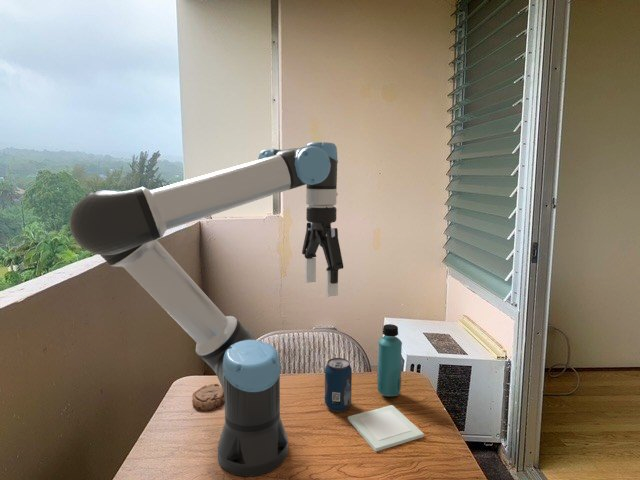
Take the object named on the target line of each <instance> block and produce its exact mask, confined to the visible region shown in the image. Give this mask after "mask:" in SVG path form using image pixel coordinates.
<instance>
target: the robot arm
mask: <svg viewBox="0 0 640 480" xmlns="http://www.w3.org/2000/svg"><path fill="white" fill-rule="evenodd" d="M338 163H339V161H338V149H337V145H336V144H335V143H333V142H324V141H323V142H320V141H319V142H318V141H317V142H308V143H307V144H306V146H303V147H297V148H287V149H275V148H272V149H262V150H261V151H260V152H259V154H258V159H256V160H253V161H250V162H246V163H242V164H240V165H239V164H238V165H235V166H232V167H229V168H225V169H221V170H217V171H215V172H211V173H208V174H204V175H200V176H197V177H194V178H191V179H190V178H189V179H186V180H183V181H180V182H176V183H172V184H170V185H165V186H163V187H158V188H155V189H149V188H147V187H144V186H141V187H136V188H134V189H129V190H124V191H121V190H118V189H115V188H114V189H113V188H100V189H96V190H93V191H92V192H90V193H88V194H86V195H85V196H84V197H83V198H81V199H80V200H79V201H78V202H77V203H76V204H75V206H74V208H73V209H72V210H71V214H70V218H69V229H70V233H71V235H72V238H73V239H74V241H75V242H76V243H77V244H78V245H79V247H81V248H82V249H84V250H86V251H87V252H90V253H92V254H95V255H98V256H99V255H100V256H101V257H102V259H104V261H105V262H107V264H109V266H111V267H114V268H116V267H119V268H123V269H124V270H125V271H126V272H127V273H128V274H129V275H130V276H131V277H132V278H133V279H134V280H135V281H136V282H137V283H138V284H139V286H141V288H142V289H144V290H145V291H146V292H147V294H149V296H151V297H152V298H153V300H155V302H156V303H157V304H158V305H159V306H160V307H161V309H163V310H164V311H165V312H166V313H167V314H168V315H169V316H170V317H171V318H172V319H173V320H174V321H175V322H176V323H177V324H178V325H179V326H180V327H181V328H182V330H183V331H185V333H186V334H187V335H189V337H191V339H193V341H194V342H195V343H196V345H195V353H196V354H197V355H198V356H199V357H200V358H201V360H203V361H204V362H205V363H206V364H207V365H208V367H210V368H211V369H212V370H213V371H214V373H215V374H216V377H217V378H218V381H219V383H220V386H221V387H222V388H223V391H224V401H223V403H224V424H223V428H222V431H221V434H220V436H219V439H218V444H217V461H218V463H219V464H220V465H219V466H220V467H221V468H222V469H224V471H226V472H228V473H229V474H233V475H234V476H238V477H257V476H262V475H265V474H267V473H271V472H272V471H274V470H276V469H277V468H279V467H280V466H281V465H283V463H284V462H285V460H286V459H287V457H288V454H289V438H288V435H287V432H286V430H285V426H284V424H283V420H282V419H281V411H280V410H281V396H280V395H281V386H280V385H281V384H280V383H281V362H280V356H279V353H278V351H277V349H276V347H274V346H273V345H271V344H270V343H268V342H264V341H262V340H259V339H258V340H257V339H255V337H254V336H253V335H254V334H252V333H251V332H250V331H249V330H248V329H247V328H245V327H244V326H243V325H242V324H241V323H240V321H239V319H237V318H236V317H235V316H233V315H225V314H224V313H223V312H222V311H221V310H220V308H218V306H217V305H216V304H215V303H214V302H213V301H212V300H211V299H210V297H209V296H207V295H208V294H207V295H206V293H205V292H204V291H203V290H202V289H201V287H200V286H199V285H198V284H197V283H196V282H195V281H194V280H193V279H192V277H191V276H189V274H188V273H187V272H186V271H185V270H184V269H183V268H182V267H181V265H180V264H179V263H178V262H177V261H176V260H175V259H174V257H173V256H172V255H171V254H170V253H169V252H168V251H167V250H166V249H165V248H164V246H163V245H162V243H160V241H158V240H159V239H161V238H163V236H164V235H165V233H166V232H167V231H168V230H171V229H173V228H174V229H175V228H177V227H180V226H182V225H186V224H190V223H193V222H195V221H199V220H201V219H203V218H207V217H210V216H214V215H216V214H219V213H221V212H224V211H228V210H231V209H235V208H237V207H240V206H243V205H246V204H249V203H252V202H253V203H254V202H255V201H258V200H261V199H265V198H267V197H271V196H274V195H277V194H280V193H282V192H285V191H289V190H293V189H297V188H299V187H302V186H306V191H305V192H306V194H305V195H306V196H305V198H306V200H305V201H306V202H305V203H306V205H308V206H307V208H306V218H305V219H306V221H307V223H306V231H305V235H304V239H303V240H304V241H303V245H302V250H301V254H302V255H304V258H305V283H307V284H308V283H316V282H317V279H316V278H317V259H316V258H317V254H316V253H317V251H318V248H319V247H321V249H322V251H323V255H324V258H325V261H326V264H327V267H326V297H334V296H336V297H337V296H338V295H339V270H341V269H342V270H343V269H344V263H343V257H342V252H341V247H340V241H339V233H338V232H339V230H338V228H337V227H333V228H332V224H333V223H336V221H337V208H336V205H337V197H338V194H339V193H338V192H337V185H338V184H337V183H338Z"/></svg>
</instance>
